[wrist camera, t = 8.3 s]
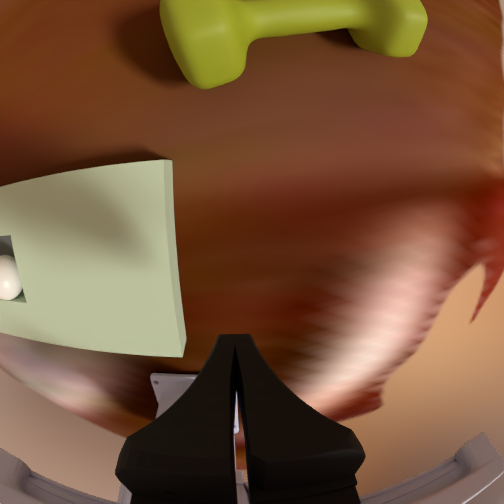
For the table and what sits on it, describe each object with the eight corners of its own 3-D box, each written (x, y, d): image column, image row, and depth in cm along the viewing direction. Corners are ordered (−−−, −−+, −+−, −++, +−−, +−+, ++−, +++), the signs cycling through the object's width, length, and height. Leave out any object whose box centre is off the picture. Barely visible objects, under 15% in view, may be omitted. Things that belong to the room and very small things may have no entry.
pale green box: (186, 338, 22) (167, 436, 12) (-3, 317, 20) (-51, 364, 10) (172, 160, 17) (111, 157, 8) (-30, 196, 16) (-96, 219, 6)
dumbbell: (193, 108, 16) (172, 77, 10) (166, 23, 14) (141, -28, 7) (396, 70, 16) (452, 47, 9) (360, -5, 13) (399, -44, 7)
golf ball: (21, 272, 20) (36, 290, 18) (-5, 294, 17) (7, 316, 16) (7, 240, 17) (19, 256, 16) (-23, 263, 14) (-14, 284, 13)
